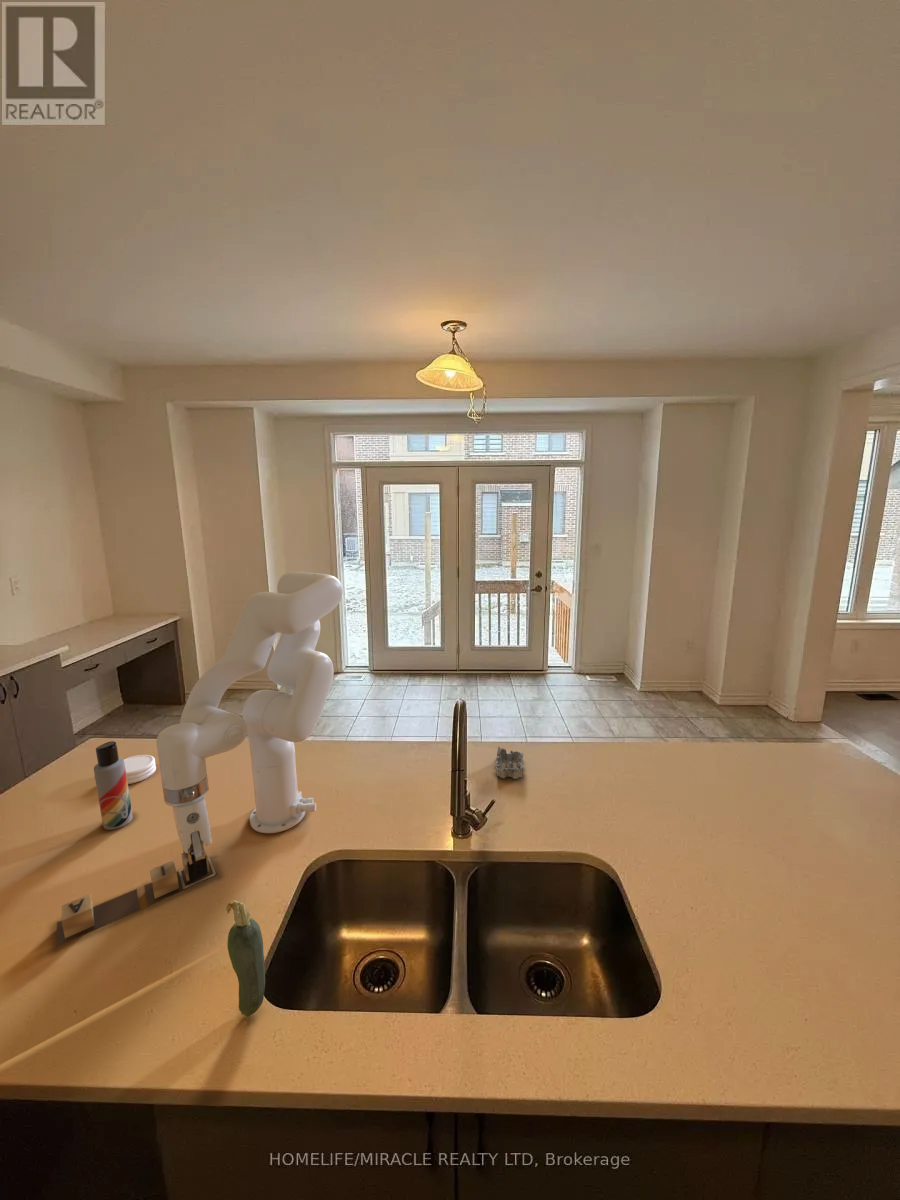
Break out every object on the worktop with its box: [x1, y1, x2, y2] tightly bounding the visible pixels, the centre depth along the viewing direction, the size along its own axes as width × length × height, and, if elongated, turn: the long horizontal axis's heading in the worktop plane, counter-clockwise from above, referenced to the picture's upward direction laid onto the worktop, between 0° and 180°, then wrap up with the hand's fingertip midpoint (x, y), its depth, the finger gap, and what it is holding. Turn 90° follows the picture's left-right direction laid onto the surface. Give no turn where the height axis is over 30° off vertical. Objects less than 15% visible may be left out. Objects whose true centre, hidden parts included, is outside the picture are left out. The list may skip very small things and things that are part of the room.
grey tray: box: [144, 857, 219, 907], centre depth 91 cm, size 12×6×4 cm, turn 128°
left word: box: [55, 888, 141, 948], centre depth 83 cm, size 12×6×4 cm, turn 128°
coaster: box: [123, 754, 157, 785], centre depth 127 cm, size 10×10×4 cm
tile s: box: [180, 847, 209, 881], centre depth 92 cm, size 4×4×4 cm
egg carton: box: [495, 746, 524, 780], centre depth 130 cm, size 11×8×4 cm
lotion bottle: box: [93, 740, 133, 831], centre depth 106 cm, size 6×6×20 cm
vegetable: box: [225, 899, 266, 1020], centre depth 65 cm, size 4×4×20 cm
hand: (196, 868), depth 92 cm, fingers closed on tile s, 3 cm apart
